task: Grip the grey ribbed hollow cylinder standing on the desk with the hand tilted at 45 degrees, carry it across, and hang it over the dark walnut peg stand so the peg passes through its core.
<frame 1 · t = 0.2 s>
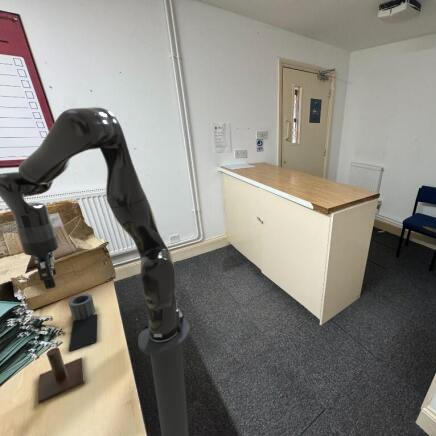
hand: (51, 281, 77), 18 cm above the table, tool pointing down, fingers open, 8 cm apart
smartphone: (84, 332, 81), on the table
grey ribbed hollow cylinder: (84, 314, 88), on the table
peg stand: (62, 380, 66), on the table
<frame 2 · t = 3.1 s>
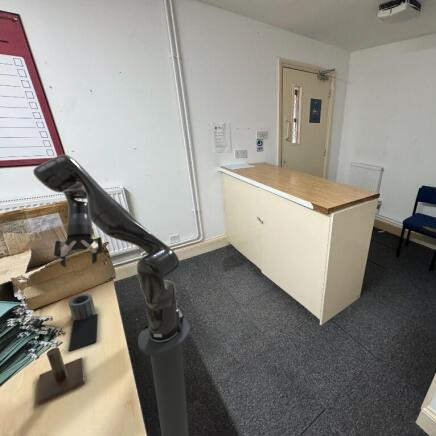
hand: (79, 265, 91), 16 cm above the table, tool tilted 40°, fingers open, 8 cm apart
nothing on the table moved.
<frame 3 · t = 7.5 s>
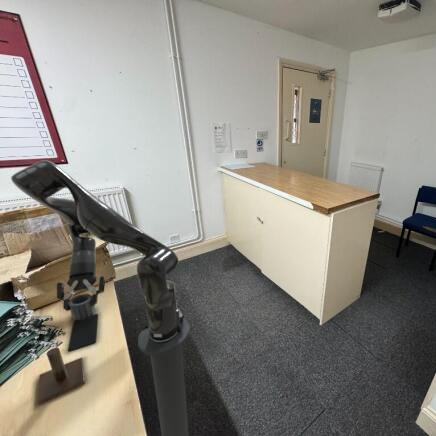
hand: (80, 307, 85), 4 cm above the table, tool tilted 45°, fingers closed on grey ribbed hollow cylinder, 6 cm apart
grey ribbed hollow cylinder: (84, 314, 88), on the table, touching gripper
everything else where it was.
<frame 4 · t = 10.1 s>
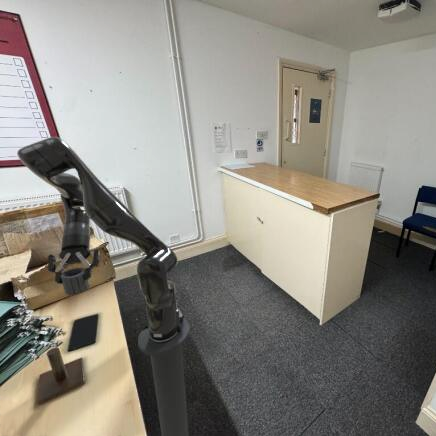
hand: (73, 281, 81), 16 cm above the table, tool tilted 45°, fingers closed on grey ribbed hollow cylinder, 6 cm apart
grey ribbed hollow cylinder: (77, 289, 83), point 12 cm above the table, touching gripper
everything else where it was.
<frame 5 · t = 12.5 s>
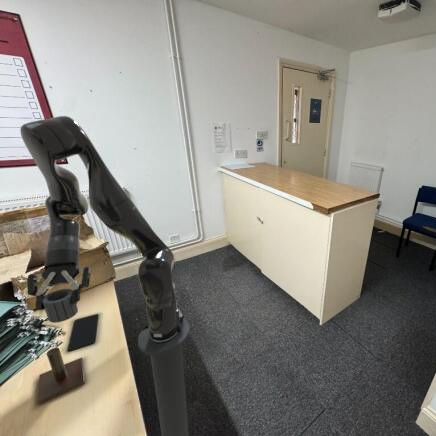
hand: (58, 306, 68), 18 cm above the table, tool tilted 45°, fingers closed on grey ribbed hollow cylinder, 6 cm apart
grey ribbed hollow cylinder: (63, 314, 70), point 14 cm above the table, touching gripper
everything else where it was.
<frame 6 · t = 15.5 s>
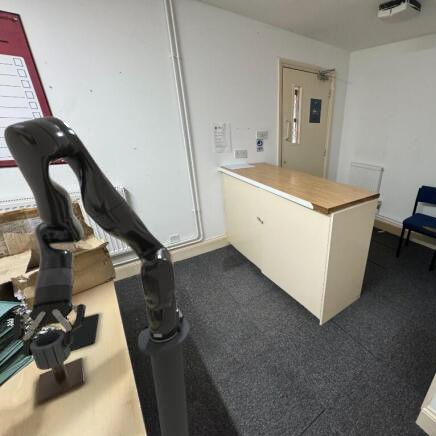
hand: (48, 351, 60), 13 cm above the table, tool tilted 45°, fingers closed on grey ribbed hollow cylinder, 6 cm apart
grey ribbed hollow cylinder: (54, 358, 63), point 9 cm above the table, touching gripper
everything else where it was.
when the fingers open (7 cm above the table, at t = 17.9 s): grey ribbed hollow cylinder drops 1 cm, resting on peg stand.
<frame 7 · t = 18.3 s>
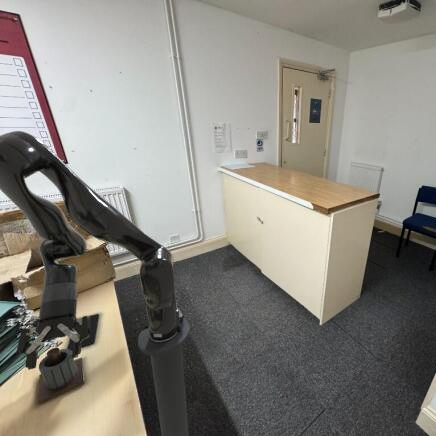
hand: (54, 363, 62), 8 cm above the table, tool tilted 45°, fingers open, 8 cm apart
grey ribbed hollow cylinder: (61, 377, 66), point 1 cm above the table, touching peg stand
everything else where it was.
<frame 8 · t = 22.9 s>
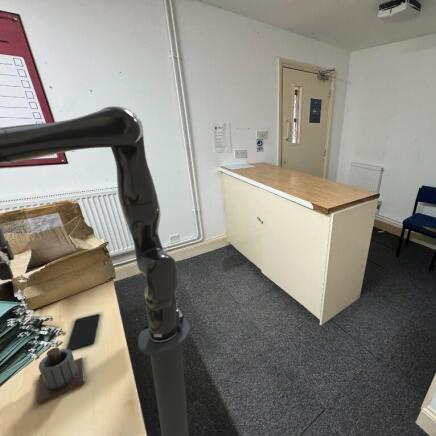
nothing on the table moved.
at the end: grey ribbed hollow cylinder 0.1 cm from the peg stand (horizontally); grey ribbed hollow cylinder point 1.2 cm above the table; the gripper is holding nothing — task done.
